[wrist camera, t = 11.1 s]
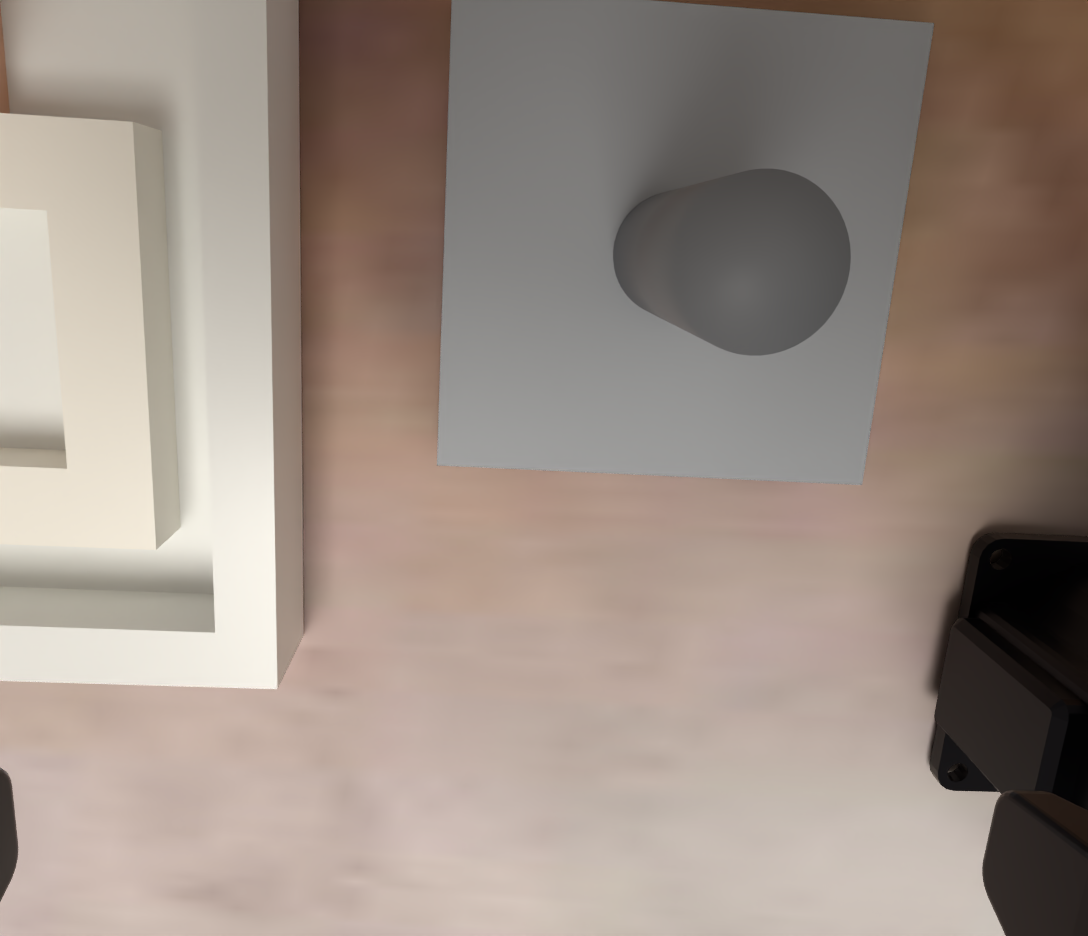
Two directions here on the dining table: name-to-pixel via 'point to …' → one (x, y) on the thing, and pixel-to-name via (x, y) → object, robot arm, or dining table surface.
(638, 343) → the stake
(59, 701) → the dining table surface
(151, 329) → the ring
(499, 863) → the dining table surface
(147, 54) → the tray
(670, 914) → the dining table surface
